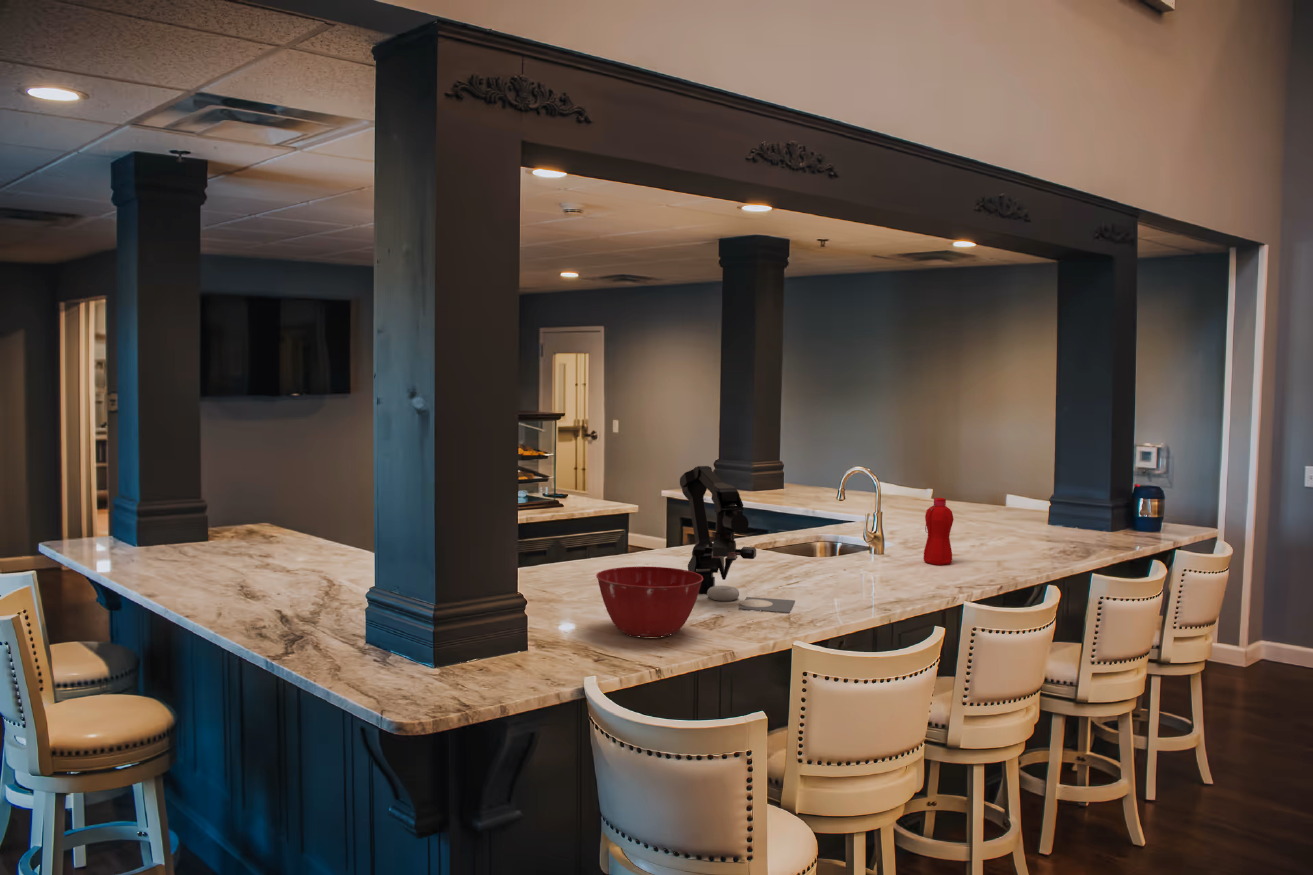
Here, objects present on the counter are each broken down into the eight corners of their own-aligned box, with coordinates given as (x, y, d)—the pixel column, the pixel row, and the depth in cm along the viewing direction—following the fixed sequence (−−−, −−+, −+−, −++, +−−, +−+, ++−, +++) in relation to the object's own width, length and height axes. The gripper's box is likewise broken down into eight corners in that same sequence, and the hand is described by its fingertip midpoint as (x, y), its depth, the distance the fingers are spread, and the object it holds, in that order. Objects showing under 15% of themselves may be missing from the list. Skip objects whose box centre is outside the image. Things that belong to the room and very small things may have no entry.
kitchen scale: (735, 609, 286) (735, 607, 286) (743, 597, 301) (743, 596, 301) (789, 613, 282) (789, 611, 282) (795, 601, 298) (795, 599, 298)
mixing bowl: (642, 614, 278) (643, 560, 277) (723, 631, 260) (724, 574, 259) (573, 632, 256) (574, 574, 255) (656, 653, 238) (657, 591, 237)
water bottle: (916, 562, 368) (918, 497, 367) (938, 560, 373) (941, 496, 372) (932, 566, 360) (935, 499, 359) (955, 564, 365) (958, 498, 363)
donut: (745, 601, 297) (729, 593, 307) (745, 590, 297) (729, 583, 306) (716, 603, 293) (701, 596, 302) (716, 592, 293) (701, 585, 302)
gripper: (689, 530, 288) (688, 582, 289) (751, 534, 283) (750, 586, 284) (697, 525, 299) (696, 575, 300) (757, 528, 294) (755, 579, 295)
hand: (723, 579), depth 294 cm, fingers closed
